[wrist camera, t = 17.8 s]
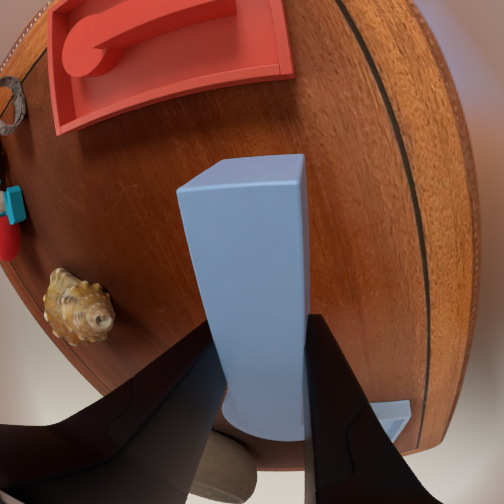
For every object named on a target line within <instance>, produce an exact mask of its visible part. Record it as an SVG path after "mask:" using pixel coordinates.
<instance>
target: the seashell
mask: <svg viewBox="0 0 504 504" xmlns="http://www.w3.org/2000/svg"><path fill="white" fill-rule="evenodd" d="M50 279H51V283H50V285H49V287H48V291H47V293H46V294H45V295H44V298H43V301H44V303H45V312H44V317H45V319H46V321H47V322H49V323H50V324H51V327H52V330H53V333H54V335H56V336H57V337H58V338H64V339H65V340H67V341H68V343H69V344H70V345H74V346H78V345H80V344H82V345H88V344H89V343H91V342H95V341H96V340H98V341H105V340H106V338H107V332H108V331H110V330H111V328H112V327H113V322H114V319H115V316H116V315H115V313H114V310H113V307H112V304H111V302H110V295H109V294H108V293H106V292H103V291H102V286H101V285H100V284H98V283H95V284H92V285H91V284H89V282H87V281H81V280H79V279H77V278H76V277H74V276H73V275H71V274H70V273H69V272H68V271H66V270H65V269H63V268H57V269H55V270H54V271H53V272H52V274H51V277H50Z"/></svg>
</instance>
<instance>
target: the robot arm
mask: <svg viewBox="0 0 504 504" xmlns="http://www.w3.org/2000/svg"><path fill="white" fill-rule="evenodd" d="M226 385H227V381H226V378H225V375H224V372H223V369H222V366H221V362H220V359H219V356H218V353H217V349H216V346H215V343H214V340H213V337H212V333H211V330H210V327H209V323H208V320H206V321H204V322H203V323H202V324H201V325H199V326H198V327H197V328H195V329H194V330H193V331H192V332H190V333H189V334H188V335H186V336H185V337H184V338H183V339H181V340H180V341H179V342H177V343H176V344H175V345H174V346H172V347H171V348H170V349H168V350H167V351H166V352H164V353H163V354H162V355H161V356H159V357H158V358H157V359H155V360H154V361H153V362H151V363H150V364H149V365H147V366H146V367H145V368H143V369H142V370H141V371H139V372H138V373H137V374H135V375H134V378H133V377H131V378H130V379H129V380H127V381H126V382H125V383H123V384H122V385H121V386H119V387H118V388H116V389H115V390H113V391H112V392H111V393H109V394H108V395H106V396H104V397H103V398H101V399H100V400H98V401H96V402H95V403H93V404H91V405H90V406H88V407H86V408H84V409H83V410H81V411H79V412H77V413H76V414H74V415H72V416H70V417H69V418H67V419H65V420H63V421H61V422H59V423H56V424H52V425H47V426H22V425H6V424H0V504H185V502H186V500H187V496H188V494H189V491H190V488H191V486H192V483H193V480H194V477H195V475H196V472H197V469H198V466H199V464H200V461H201V458H202V455H203V452H204V449H205V447H206V444H207V441H208V438H209V435H210V432H211V429H212V427H213V424H214V421H215V418H216V415H217V412H218V409H219V406H220V403H221V400H222V398H223V395H224V392H225V389H226ZM303 406H304V443H305V504H443V503H441V502H440V501H438V500H437V499H435V498H434V497H433V496H432V495H431V494H430V493H429V492H428V491H427V490H426V489H425V488H424V487H423V486H422V484H421V483H420V481H419V480H418V479H417V477H416V476H415V474H414V473H413V472H412V470H411V469H410V467H409V466H408V464H407V463H406V462H405V460H404V459H403V457H402V456H401V454H400V453H399V452H398V450H397V449H396V447H395V446H394V444H393V443H392V441H391V440H390V438H389V437H388V435H387V434H386V432H385V431H384V429H383V427H382V425H381V423H380V422H379V420H378V418H377V416H376V415H375V413H374V411H373V409H372V407H371V405H370V403H368V399H367V397H366V395H365V394H364V392H363V390H362V388H361V386H360V384H359V382H358V380H357V378H356V376H355V375H354V373H353V371H352V369H351V367H350V365H349V363H348V362H347V360H346V358H345V356H344V354H343V352H342V350H341V349H340V347H339V345H338V343H337V341H336V339H335V338H334V336H333V334H332V332H331V330H330V329H329V327H328V325H327V323H326V321H325V320H324V318H323V316H322V315H321V314H308V322H307V332H306V342H305V346H304V373H303Z"/></svg>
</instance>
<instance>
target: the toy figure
mask: <svg viewBox="0 0 504 504" xmlns="http://www.w3.org/2000/svg"><path fill="white" fill-rule="evenodd" d="M0 158H1V147H0ZM0 184H1V179H0ZM25 219H26V213H25V209H24V204H23V198H22V193H21V189H20V187H19V185H18V186H14V187H10V188H7V191H6V192H3V191H1V189H0V259H1V260H3V261H12V260H13V259H14V258H15V257H16V256H17V254H18V251H19V248H20V239H21V232H20V224H19V222H21V221H24V220H25Z"/></svg>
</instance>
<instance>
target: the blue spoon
mask: <svg viewBox="0 0 504 504" xmlns="http://www.w3.org/2000/svg"><path fill="white" fill-rule="evenodd" d="M177 198H178V202H179V207H180V212H181V216H182V221H183V225H184V230H185V234H186V238H187V243H188V247H189V251H190V255H191V259H192V263H193V267H194V271H195V275H196V279H197V283H198V287H199V290H200V294H201V298H202V302H203V305H204V309H205V312H206V316H207V320H208V323H209V327H210V330H211V333H212V337H213V340H214V343H215V346H216V349H217V353H218V356H219V359H220V362H221V366H222V369H223V372H224V375H225V378H226V381H227V385H228V390H227V393H226V396H225V399H224V403H223V406H222V412H223V415H224V417H225V418H226V420H227V421H228V422H229V423H230V424H232V425H233V426H234V427H236V428H237V429H239V430H241V431H243V432H245V433H248V434H250V435H253V436H256V437H260V438H264V439H269V440H276V441H301V440H304V406H303V373H304V346H305V342H306V332H307V322H308V314H310V253H309V221H308V199H307V182H306V166H305V156H304V155H303V154H288V155H271V156H257V157H245V158H234V159H224V160H221V161H220V162H218V163H217V164H215V165H213V166H212V167H210V168H209V169H207V170H206V171H204V172H203V173H201V174H200V175H198V176H196V177H195V178H193V179H192V180H191V181H189V182H188V183H186V184H185V185H183V186H182V187H180V188H179V189H177Z"/></svg>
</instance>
